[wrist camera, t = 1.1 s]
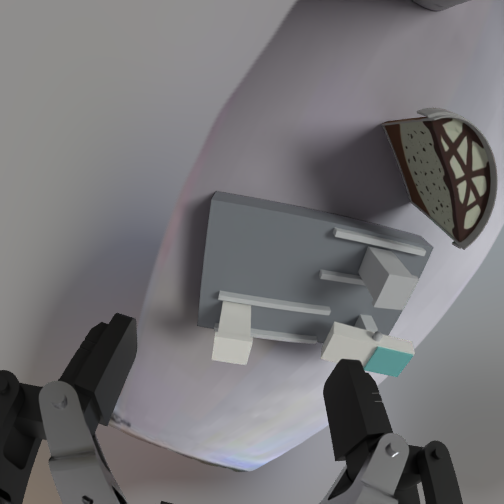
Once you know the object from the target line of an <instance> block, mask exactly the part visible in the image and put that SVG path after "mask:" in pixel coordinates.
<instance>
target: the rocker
mask: <svg viewBox="0 0 504 504" xmlns="http://www.w3.org/2000/svg"><path fill="white" fill-rule="evenodd" d="M414 354H415V352H414V348H413V344H412V342H411V341H407V340H403V339H399V338H395V337H391V336H387V335H383V334H382V333H381V332H378V331H376V332H372V331H368V330H364V329H360V328H356V327H353V326H349V325H345V324H342V323H338V322H335V321H334V323H333V326H332V328H331V330H330V332H329V334H328V336H327V338H326V340H325V342H324V344H323V346H322V352H321V359H323V360H327V361H331V362H335V363H338V362H339V361H340V360H341V359H353V360H360V361H361V363H362V366H363V368H364V370H366V371H370V372H375V373H380V374H385V375H390V376H395V377H398V375H399V374H400V373H401V372H402V370H403V369H404V367H405V366H406V365H407V364H408V362H409V361H410V360H411V358H412V357H413V355H414Z"/></svg>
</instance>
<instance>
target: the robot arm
mask: <svg viewBox="0 0 504 504" xmlns="http://www.w3.org/2000/svg"><path fill="white" fill-rule="evenodd" d="M412 1H414V2H416V3H417V4H419V5H421V6H423V7H425V8H427V9H430V10H435V11H441V10H445V9H447V8H450V7H453V6H455V5H458V4H461V3H464V2H467V1H470V0H412ZM136 352H137V330H136V319H135V318H132V317H129V316H126V315H122V314H119V313H116V314H115V315H114V317H113V318H112V320H111V321H110V323H109V324H106V323H103V322H101V323H100V324H98V325H97V326H95V327H93V328H92V329H91V330H90V332H89V333H88V335H87V336H86V338H85V340H84V341H83V342H82V344H81V345H80V348H79V349H78V350H77V352H76V353H75V355H74V356H73V358H72V359H71V361H70V363H69V364H68V366H67V368H66V369H65V371H64V373H63V375H62V376H61V378H60V379H59V380H58V381H53V382H50V383H48V384H46V385H45V386H44V387H39V386H33V385H28V384H22V383H19V381H18V379H17V378H16V376H15V375H14V374H13V373H11V372H9V371H6V370H0V504H22V502H23V498H24V494H25V490H26V487H27V483H28V480H29V477H30V473H31V470H32V467H33V464H34V461H35V458H36V455H37V452H38V449H39V447H40V444H41V441H42V439H45V440H47V442H48V446H49V449H50V453H51V458H50V459H49V467H50V471H51V474H52V477H53V480H54V482H55V485H56V488H57V491H58V493H59V496H60V498H61V501H62V503H63V504H128V502H127V500H126V498H125V496H124V495H123V492H122V491H121V489H120V487H119V485H118V483H117V482H116V480H115V478H114V476H113V474H112V472H111V470H110V468H109V466H108V463H107V461H106V459H105V457H104V454H103V452H102V449H101V447H100V444H99V442H98V439H97V436H96V434H95V431H96V428H97V426H98V423H100V424H102V425H105V426H108V423H109V420H110V418H111V415H112V413H113V410H114V408H115V405H116V403H117V400H118V398H119V395H120V393H121V390H122V388H123V386H124V383H125V381H126V379H127V376H128V374H129V372H130V369H131V367H132V365H133V362H134V360H135V357H136ZM323 395H324V401H325V406H326V411H327V416H328V422H329V427H330V433H331V438H332V444H333V450H334V456H335V461H344V460H346V466H345V467H344V468H343V469H342V471H341V473H340V474H339V476H338V477H337V479H336V480H335V482H334V484H333V485H332V487H331V488H330V490H329V491H328V493H327V494H326V496H325V497H324V499H323V500H322V501H321V502H320V503H319V504H420V499H419V494H418V490H417V484H418V483H420V482H422V486H423V491H424V496H425V501H426V504H463V503H462V498H461V494H460V490H459V486H458V482H457V478H456V474H455V471H454V468H453V464H452V461H451V458H450V454H449V451H448V449H447V448H446V446H445V445H444V444H443V443H442V442H439V441H432V442H430V443H429V444H427V445H426V446H425V447H418V446H412V445H408V444H407V442H406V440H405V439H404V438H403V437H402V436H400V435H398V434H394V433H393V431H392V428H391V425H390V422H389V419H388V416H387V413H386V410H385V407H384V404H383V403H382V399H381V396H380V395H379V390H378V388H377V385H376V382H375V381H374V380H373V378H372V377H371V376H370V375H369V373H365V371H364V368H363V366H362V363H361V361H360V360H353V359H341V360H340V361H339V362H338V364H337V365H336V367H335V368H334V370H333V371H332V373H331V374H330V376H329V377H328V379H327V380H326V382H325V385H324V390H323ZM161 504H172V503H167V502H163V501H161Z"/></svg>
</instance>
